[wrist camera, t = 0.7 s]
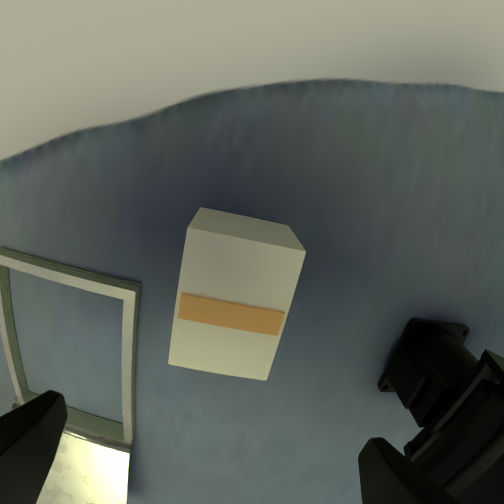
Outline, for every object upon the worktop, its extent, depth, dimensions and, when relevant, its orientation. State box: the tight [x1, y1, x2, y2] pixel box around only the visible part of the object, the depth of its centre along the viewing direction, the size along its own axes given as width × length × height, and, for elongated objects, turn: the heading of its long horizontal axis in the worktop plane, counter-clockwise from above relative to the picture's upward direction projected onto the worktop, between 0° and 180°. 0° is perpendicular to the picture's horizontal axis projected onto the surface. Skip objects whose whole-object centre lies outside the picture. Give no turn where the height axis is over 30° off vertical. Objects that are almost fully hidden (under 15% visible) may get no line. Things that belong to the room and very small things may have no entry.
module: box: [168, 207, 306, 380], centre depth 16 cm, size 5×7×5 cm
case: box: [0, 247, 141, 504], centre depth 18 cm, size 11×27×9 cm, turn 167°
